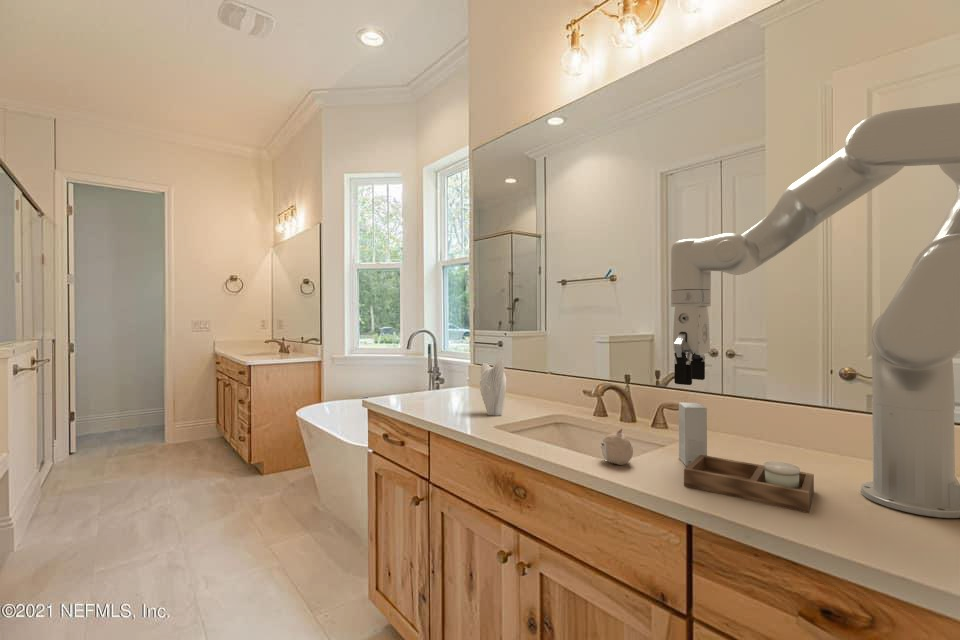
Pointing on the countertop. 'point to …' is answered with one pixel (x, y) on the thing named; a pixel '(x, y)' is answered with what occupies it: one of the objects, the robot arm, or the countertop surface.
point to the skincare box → (692, 431)
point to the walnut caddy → (747, 482)
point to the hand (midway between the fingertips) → (690, 381)
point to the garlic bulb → (617, 448)
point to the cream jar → (782, 474)
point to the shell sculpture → (493, 387)
